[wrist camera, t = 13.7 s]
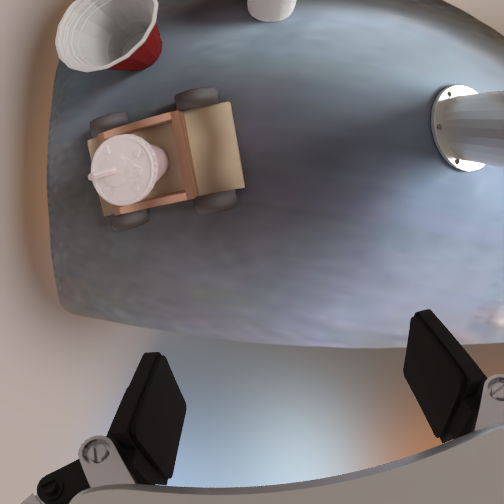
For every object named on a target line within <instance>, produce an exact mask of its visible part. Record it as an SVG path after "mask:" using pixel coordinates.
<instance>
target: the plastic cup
mask: <svg viewBox="0 0 504 504" xmlns="http://www.w3.org/2000/svg"><path fill="white" fill-rule="evenodd" d="M157 10H158V1H157V0H75V1H74V2H73V3H72V4H71V5H70V6H69V7H68V9H67V11H66V12H65V14H64V16H63V18H62V19H61V21H60V23H59V25H58V29H57V35H56V41H55V44H56V48H57V52H58V56H59V58H60V59H61V60H62V61H63V62H64V63H65V64H66V65H67V66H68V67H69V68H70V69H74V70H79V71H83V72H92V71H97V70H103V69H113V70H123V71H124V70H129V71H137V70H143V69H145V68H147V67H149V66H151V65H152V64H153V63H154V62H155V61H156V60H157V59H158V57H159V55H160V53H161V49H162V41H161V38H160V34H159V30H158V27H157V24H156V17H157Z"/></svg>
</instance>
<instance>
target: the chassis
mask: <svg viewBox="0 0 504 504" xmlns="http://www.w3.org/2000/svg"><path fill="white" fill-rule="evenodd" d="M175 103H176V109H177V110H176V111H172V112H168V113H164V114H161V115H157V116H153V117H150V118H146V119H143V120H140V121H136V122H133V123H130V124H129V120H128V114H127V113H126V112H119V113H113V114H108V115H105V116H102V117H99V118H96V119H94V120H92V121H91V122H90V129H91V135H92V138H93V139H90V140H87V141H88V147H89V152H90V158H91V163H92V159H93V157H94V154H95V152H96V150H97V149H98V148H99V146H100V145H101V144H102V143H103V142H104V141H106V140H107V139H109V138H111V137H113V136H116V135H122V134H132V135H136V136H138V137H141V138H143V139H144V140H145V141H146V142H147V143H149V144H152V145H155V146H157V147H160V148H162V149H164V150H165V151H166V152H167V154H168V156H169V160H170V164H169V168H168V170H167V172H166V173H165V174H164V175H163V176H162V177H161V178H160V179H159V180H158V181H157V182H155V184H154V187H153V189H152V190H151V191H150V193H149V194H148V195H147V196H146V197H145V198H143V199H142V200H141V201H138V202H136V203H134V204H130V205H126V206H118V205H114V204H111V203H109V202H107V201H106V200H104V199H103V198H102V197H101V196H100V195H99V194H98V195H99V199H100V203H101V207H102V211H103V215H104V216H108V215H110V216H109V218H110V221H111V225H112V229H113V231H123V230H128V229H131V228H134V227H137V226H140V225H142V224H145V223H146V222H148V221H149V216H148V212H147V208H151V207H156V206H161V205H166V204H170V203H175V202H180V201H185V200H190V199H194V202H195V207H196V212H197V214H210V213H217V212H221V211H225V210H228V209H231V208H234V207H236V206H237V205H238V203H237V197H236V192H235V189H239V188H245V181H244V175H243V169H242V164H241V158H240V152H239V147H238V141H237V135H236V130H235V124H234V119H233V113H232V107H231V103H230V102H224V103H219V97H218V92H217V88H215V87H203V88H196V89H191V90H188V91H184V92H181V93H179V94H177V95H176V96H175Z"/></svg>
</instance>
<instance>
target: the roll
mask: <svg viewBox="0 0 504 504" xmlns="http://www.w3.org/2000/svg"><path fill="white" fill-rule="evenodd" d="M296 1H297V0H247V7H248V11H249V13H250V14H251V15H252V16H253V17H254V18H256V19H258V20H260V21H264V22H277V21H281V20H284V19H286V18H287V17H288V16H290V15H291V13H292V12H293V10H294V7H295V4H296Z"/></svg>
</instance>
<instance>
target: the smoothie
mask: <svg viewBox="0 0 504 504" xmlns="http://www.w3.org/2000/svg"><path fill="white" fill-rule="evenodd" d="M169 164H170V160H169V156H168V154H167V152H166V151H165V150H164V149H162V148H160V147H157V146H155V145H152V144H149V143H147V142H146V141H145V140H144V139H143V138H141V137H138V136H136V135H132V134H122V135H116V136H113V137H111V138H109V139H107V140H106V141H104V142H103V143H102V144H101V145H100V146H99V148H98V149H97V150H96V152H95V154H94V157H93V159H92V164H91V173H90V174H89V175H88V179H89V180H90V181H92V182H93V185H94V187H95V189H96V191H97V192H98V194H99V195H100V196H101V197H102V198H103V199H104V200H106V201H107V202H109V203H111V204H114V205H118V206H126V205H130V204H134V203H136V202H138V201H141V200H142V199H143V198H145V197H146V196H147V195H148V194H149V193H150V191H151V190H152V189H153V187H154V184H155V182H157V181H158V180H159V179H160V178H161V177H162V176H163V175H164V174H165V173H166V172H167V170H168V168H169Z"/></svg>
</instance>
